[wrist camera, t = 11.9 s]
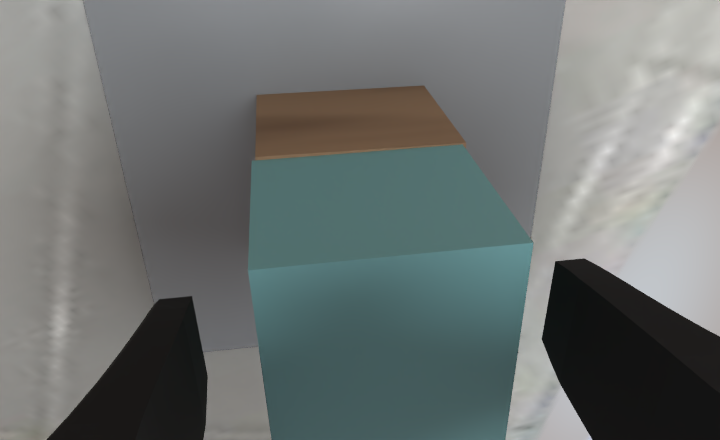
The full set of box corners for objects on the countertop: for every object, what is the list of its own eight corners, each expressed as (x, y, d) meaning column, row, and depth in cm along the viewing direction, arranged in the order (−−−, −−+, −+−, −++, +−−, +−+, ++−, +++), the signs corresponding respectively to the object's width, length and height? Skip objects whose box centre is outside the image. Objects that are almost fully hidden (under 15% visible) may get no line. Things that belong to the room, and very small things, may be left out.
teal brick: (450, 324, 16) (503, 453, 12) (274, 343, 15) (277, 483, 12) (462, 144, 13) (533, 242, 10) (251, 160, 13) (247, 270, 9)
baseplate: (508, 301, 22) (518, 319, 21) (170, 335, 21) (166, 355, 20) (557, -61, 16) (574, -57, 15) (84, -45, 15) (74, -39, 14)
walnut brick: (417, 241, 19) (451, 323, 16) (272, 253, 19) (275, 341, 15) (424, 85, 17) (465, 142, 13) (256, 94, 16) (255, 157, 13)
